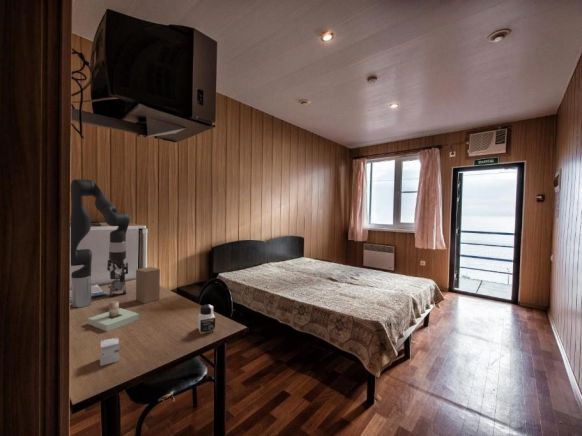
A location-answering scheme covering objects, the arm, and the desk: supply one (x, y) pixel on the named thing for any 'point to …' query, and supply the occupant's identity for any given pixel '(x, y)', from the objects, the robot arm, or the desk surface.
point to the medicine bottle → (206, 319)
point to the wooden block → (147, 284)
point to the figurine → (117, 284)
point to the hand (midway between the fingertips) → (117, 280)
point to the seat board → (113, 320)
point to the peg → (113, 309)
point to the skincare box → (109, 351)
